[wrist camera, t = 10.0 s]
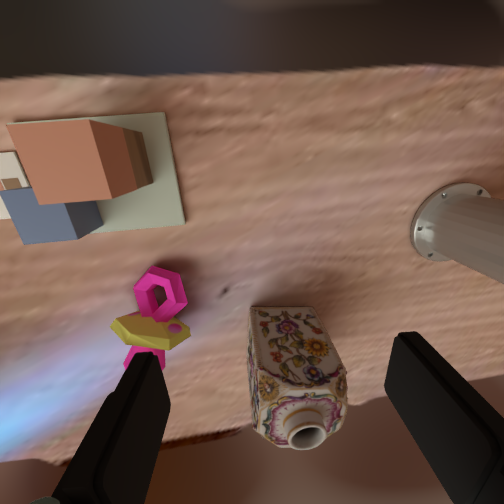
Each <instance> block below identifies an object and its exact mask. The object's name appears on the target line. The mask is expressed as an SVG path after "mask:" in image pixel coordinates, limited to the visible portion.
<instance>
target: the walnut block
mask: <svg viewBox="0 0 504 504" xmlns="http://www.w3.org/2000/svg"><path fill="white" fill-rule="evenodd" d="M122 129H123V133H124V137H125V141H126V145H127V149H128V153H129V157H130V161H131V165H132V169H133V173H134V177H135V181H136V185H137V189H139V188H141V187H144V186H147V185H150V184H152V183H154V182H153V178H152V173H151V169H150V165H149V160H148V156H147V152H146V147H145V143H144V138H143V134H142V132H138V131H134V130H130V129H126V128H122Z"/></svg>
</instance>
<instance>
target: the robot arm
mask: <svg viewBox="0 0 504 504" xmlns="http://www.w3.org/2000/svg"><path fill="white" fill-rule="evenodd" d="M410 237H411V243H412V245H413V247H414V249H415V250H416V251H417V253H419V254H420V255H421V256H423V257H425V258H427V259H429V260H432V261H448V260H454V261H456V262H458V263H460V264H462V265H464V266H467V267H469V268H471V269H473V270H475V271H477V272H479V273H481V274H483V275H486V276H488V277H490V278H492V279H494V280H496V281H498V282H500V283H502V284H504V200H500V199H494V198H491V196H490V194H489V192H488V191H487V190H486V189H485V188H483V187H481V186H479V185H476V184H472V183H455V184H451V185H448V186H445V187H443V188H441V189H439V190H438V191H436V192H435V193H433V194H432V195H431V196H430V197H429V198H428V199H427V200H426V201H425V202H424V203H423V204H422V205H421V207H420V208H419V210H418V211H417V213H416V215H415V217H414V219H413V222H412V226H411V234H410ZM384 387H385V391H386V394H387V395H388V397H389V399H390V400H391V402H392V404H393V405H394V407H395V409H396V410H397V412H398V413H399V415H400V417H401V418H402V420H403V422H404V423H405V425H406V427H407V428H408V430H409V431H410V433H411V435H412V436H413V438H414V440H415V441H416V443H417V445H418V446H419V448H420V450H421V451H422V453H423V455H424V456H425V458H426V459H427V461H428V462H429V464H430V466H431V468H432V469H433V471H434V472H435V474H436V476H437V478H438V479H439V481H440V482H441V484H442V486H443V487H444V489H445V491H446V492H447V494H448V496H449V497H450V499H451V500H452V502H453V503H454V504H504V418H503V417H502V416H501V415H500V414H499V413H498V412H497V411H496V410H495V409H494V408H493V407H492V406H491V405H490V404H489V403H488V402H487V401H486V400H485V399H484V398H483V397H482V396H481V395H480V394H479V393H478V392H477V391H476V390H475V389H474V388H473V387H472V386H471V385H470V384H469V383H468V382H467V381H466V380H465V379H464V378H463V377H462V376H461V375H460V374H459V373H458V372H457V371H456V370H455V369H454V368H453V367H452V366H451V365H450V364H449V363H448V362H447V361H446V360H445V359H444V358H443V357H442V356H441V355H440V354H439V353H438V352H437V351H436V350H435V349H434V348H433V347H432V346H431V345H430V344H429V343H428V342H427V341H426V340H425V339H424V338H423V337H422V336H421V335H420V334H419V333H418V332H415V331H413V332H401V333H399V334H398V336H397V337H395V338H394V342H393V347H392V351H391V356H390V360H389V365H388V370H387V374H386V379H385V383H384ZM170 406H171V403H170V398H169V395H168V391H167V387H166V384H165V380H164V376H163V373H162V369H161V366H160V362H159V358H158V356H157V355H154V354H153V352H152V351H150V352H137V353H135V354H134V356H133V358H132V359H131V361H130V363H129V365H128V367H127V369H126V370H125V372H124V374H123V376H122V378H121V380H120V382H119V383H118V385H117V387H116V389H115V391H114V392H111V393H110V394H109V395H108V396H107V398H106V399H105V401H104V403H103V404H102V406H101V408H100V410H99V412H98V413H97V415H96V417H95V419H94V421H93V422H92V424H91V426H90V428H89V430H88V431H87V433H86V435H85V437H84V439H83V440H82V442H81V444H80V446H79V447H78V449H77V451H76V453H75V455H74V456H73V458H72V460H71V462H70V464H69V465H68V467H67V469H66V471H65V473H64V474H63V476H62V478H61V480H60V482H59V483H58V485H57V487H56V489H55V490H54V492H53V494H52V496H51V497H43V498H40V499H37V500H35V501H33V502H31V503H30V504H144V502H145V499H146V495H147V491H148V488H149V484H150V481H151V477H152V474H153V470H154V466H155V463H156V459H157V456H158V452H159V449H160V445H161V441H162V438H163V434H164V431H165V427H166V424H167V420H168V416H169V413H170Z"/></svg>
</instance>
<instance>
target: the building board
mask: <svg viewBox="0 0 504 504" xmlns="http://www.w3.org/2000/svg"><path fill="white" fill-rule="evenodd" d="M84 119H90V120H94V121H98V122H102V123H106V124H110V125H114V126H118V127H122V128H126V129H130V130H134V131H138V132H142V134H143V138H144V143H145V147H146V152H147V156H148V160H149V165H150V169H151V173H152V178H153V182H154V183H152V184H150V185H147V186H144V187H141V188H139V189H138V190H135V191H132V192H130V193H127V194H124V195H121V196H119V197H116V198H113V199H106V200H96V203H97V206H98V209H99V212H100V215H101V218H102V221H103V224H104V225H103V226H101V227H100V228H98V229H96V230H94V231H92V232H91V233H101V232H112V231H123V230H133V229H144V228H154V227H165V226H175V225H185V224H186V221H185V216H184V211H183V205H182V200H181V195H180V189H179V184H178V179H177V174H176V168H175V163H174V158H173V152H172V147H171V142H170V137H169V131H168V126H167V121H166V115H165V113H164V112H156V113H142V114H128V115H114V116H100V117H86V118H72V119H58V120H44V121H30V122H16V123H7V125H9V124H24V123H39V122H54V121H69V120H84ZM91 233H89V234H91Z"/></svg>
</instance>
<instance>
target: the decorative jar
mask: <svg viewBox="0 0 504 504" xmlns="http://www.w3.org/2000/svg"><path fill="white" fill-rule="evenodd" d="M247 343H248V344H247V369H248V381H249V392H250V402H251V413H252V424H253V425H252V428H253V429H254V431H256V432H257V433H259V434H260V436H261V437H262V438H264V439H267V440H269V441H270V442H272V443H273V444H275V445H276V446H278V447H280V448H287V447H292V448H293V449H296V450H308V449H312V448H315V447H317V446H318V445H320V444H321V443H322V442H323V441H324V440H325V439H326V438H327V437H329V436H330V435H331V434H333V433H334V432H336V431H338V430H339V429H340V428H341V426H342V424H343V422H344V418H345V416H346V413H347V405H348V404H347V399H348V398H347V382H346V374H347V371H346V368H345V367H344V365H343V363H342V361H341V359H340V357H339V355H338V353H337V351H336V349H335V347H334V345H333V343H332V341H331V339H330V337H329V335H328V333H327V331H326V329H325V327H324V326H323V324H322V322H321V320H320V318H319V317H318V315H317V313H316V311H315V310H314V308H313V307H250V310H249V322H248V342H247Z"/></svg>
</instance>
